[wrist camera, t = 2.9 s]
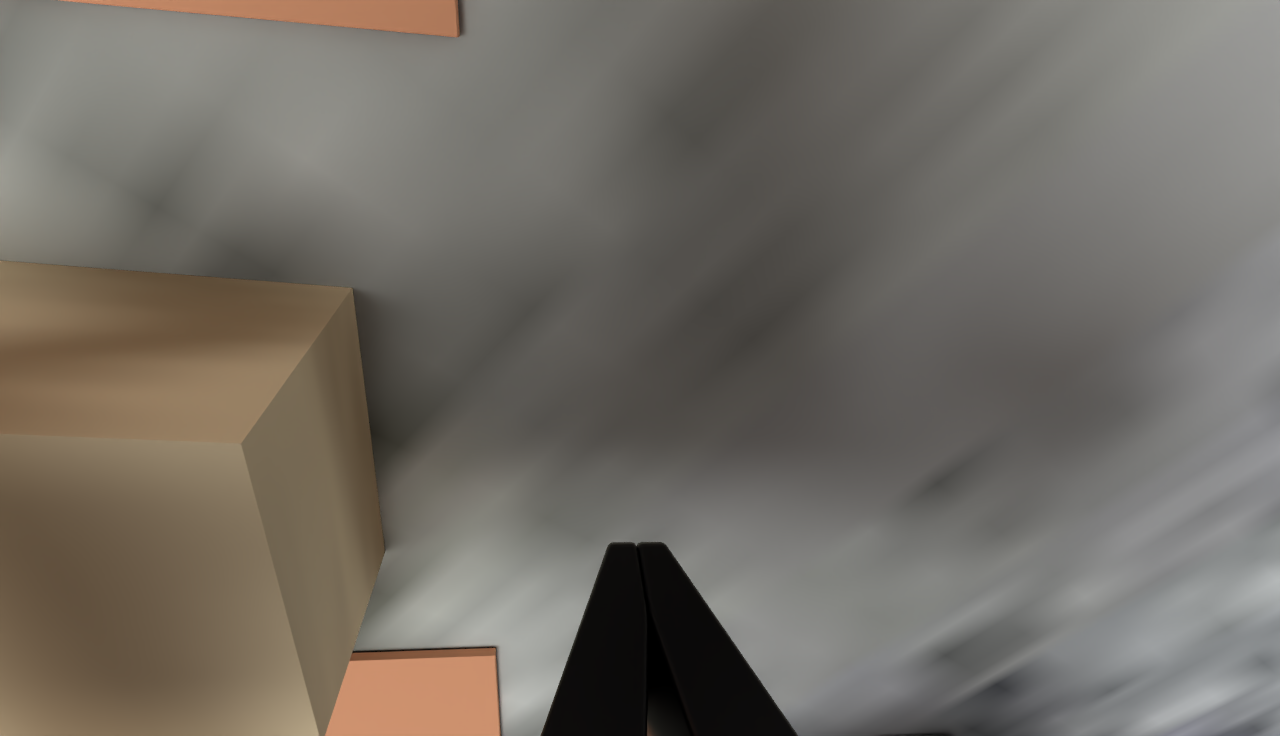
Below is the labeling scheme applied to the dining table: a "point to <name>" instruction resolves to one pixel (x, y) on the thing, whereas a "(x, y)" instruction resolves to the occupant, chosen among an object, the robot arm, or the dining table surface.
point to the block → (180, 503)
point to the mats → (402, 680)
